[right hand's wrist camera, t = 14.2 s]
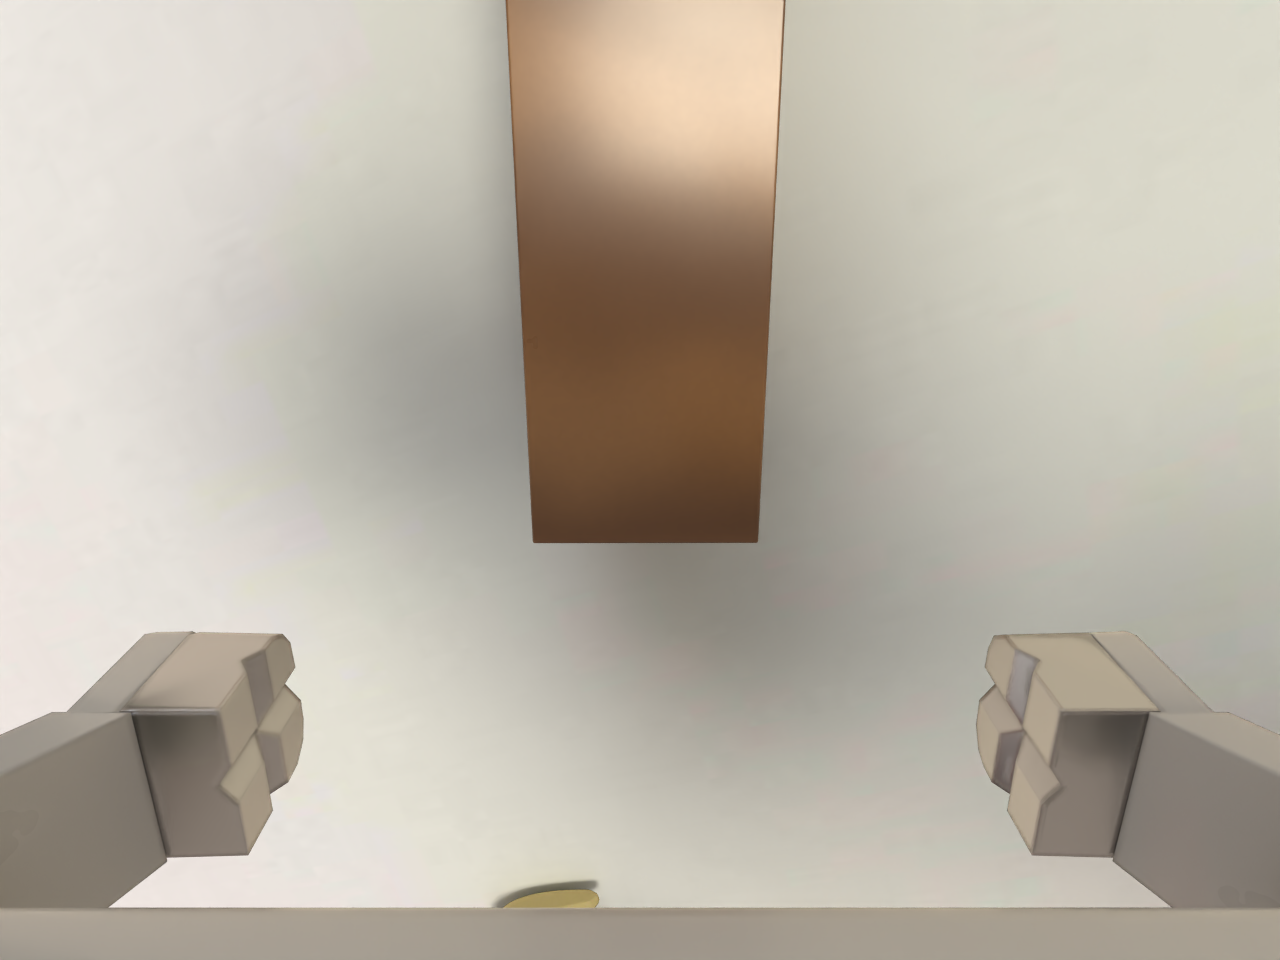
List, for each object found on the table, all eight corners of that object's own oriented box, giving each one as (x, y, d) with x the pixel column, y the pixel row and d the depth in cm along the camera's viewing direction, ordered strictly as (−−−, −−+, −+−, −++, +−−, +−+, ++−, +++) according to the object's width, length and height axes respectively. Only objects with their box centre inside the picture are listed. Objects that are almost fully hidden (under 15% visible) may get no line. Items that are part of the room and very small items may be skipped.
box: (718, 405, 35) (758, 543, 23) (569, 405, 35) (532, 543, 23) (746, -493, 25) (838, -1040, 14) (540, -492, 25) (453, -1039, 14)
